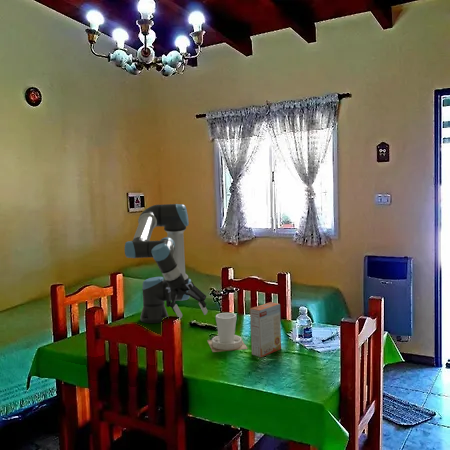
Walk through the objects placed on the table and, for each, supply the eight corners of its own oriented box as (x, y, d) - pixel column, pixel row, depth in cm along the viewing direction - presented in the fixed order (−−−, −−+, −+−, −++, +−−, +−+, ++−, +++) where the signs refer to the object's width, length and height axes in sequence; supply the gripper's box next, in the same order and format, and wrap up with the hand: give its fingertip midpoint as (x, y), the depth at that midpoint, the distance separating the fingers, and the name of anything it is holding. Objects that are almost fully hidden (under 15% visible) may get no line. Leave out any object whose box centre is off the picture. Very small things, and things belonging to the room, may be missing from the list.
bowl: (210, 340, 219) (210, 335, 219) (238, 338, 222) (238, 333, 222) (215, 350, 206) (214, 345, 206) (244, 348, 209) (244, 342, 208)
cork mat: (207, 341, 220) (207, 340, 220) (240, 338, 223) (240, 337, 223) (212, 353, 205) (212, 352, 205) (248, 349, 208) (248, 348, 208)
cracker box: (271, 346, 211) (270, 301, 209) (281, 349, 207) (281, 303, 205) (250, 354, 201) (249, 307, 200) (261, 358, 197) (260, 310, 195)
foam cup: (234, 347, 208) (233, 318, 207) (214, 346, 210) (213, 318, 209) (238, 340, 218) (237, 313, 217) (219, 339, 220) (218, 312, 218)
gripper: (146, 286, 206) (167, 323, 213) (194, 276, 195) (214, 316, 202) (154, 276, 212) (173, 313, 219) (200, 266, 201) (219, 306, 209)
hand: (193, 315), depth 211 cm, fingers open, 13 cm apart
